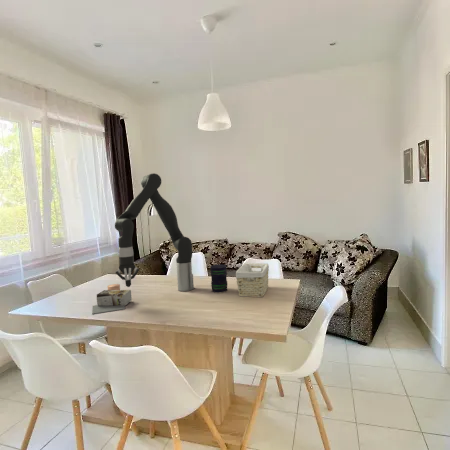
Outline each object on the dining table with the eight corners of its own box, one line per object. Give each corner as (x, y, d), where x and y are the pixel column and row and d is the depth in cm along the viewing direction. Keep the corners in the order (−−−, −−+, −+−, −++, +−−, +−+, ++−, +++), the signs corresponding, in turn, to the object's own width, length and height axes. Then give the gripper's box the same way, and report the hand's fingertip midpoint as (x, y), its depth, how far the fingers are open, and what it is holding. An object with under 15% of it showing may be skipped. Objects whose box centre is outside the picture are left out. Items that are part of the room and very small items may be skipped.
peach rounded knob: (120, 294, 200) (119, 283, 199) (121, 297, 193) (120, 286, 193) (108, 296, 197) (107, 285, 197) (108, 299, 191) (107, 287, 190)
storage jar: (228, 287, 204) (227, 264, 202) (226, 292, 194) (225, 267, 193) (212, 288, 205) (211, 264, 203) (210, 292, 195) (209, 268, 194)
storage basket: (264, 298, 179) (263, 271, 178) (235, 297, 184) (234, 271, 183) (270, 286, 202) (269, 263, 201) (244, 285, 207) (243, 262, 206)
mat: (123, 301, 185) (123, 301, 185) (125, 309, 172) (125, 308, 172) (92, 306, 179) (92, 305, 179) (92, 314, 166) (92, 313, 166)
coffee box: (124, 294, 176) (96, 294, 177) (125, 305, 176) (97, 306, 178) (131, 289, 185) (103, 289, 186) (131, 300, 185) (104, 300, 187)
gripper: (138, 253, 183) (140, 283, 184) (113, 255, 178) (115, 286, 180) (139, 254, 176) (141, 286, 177) (113, 257, 171) (116, 290, 173)
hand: (128, 286), depth 178 cm, fingers closed
